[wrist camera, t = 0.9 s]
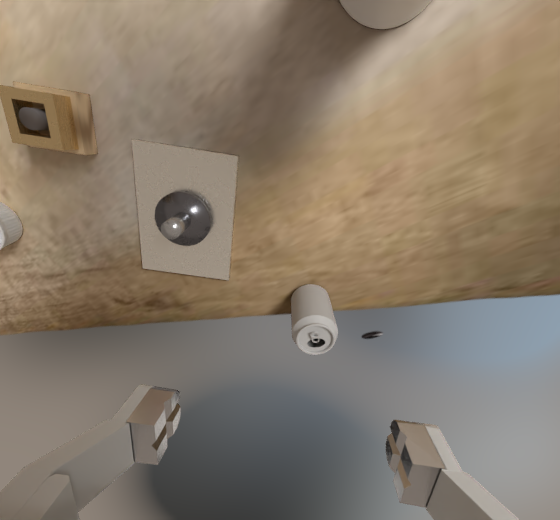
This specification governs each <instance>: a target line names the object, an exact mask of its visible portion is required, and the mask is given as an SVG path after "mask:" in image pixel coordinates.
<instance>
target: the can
mask: <svg viewBox="0 0 560 520" xmlns="http://www.w3.org/2000/svg"><path fill="white" fill-rule="evenodd" d="M291 317H292V338H293V340H294V342H295V343H296V344H297V346H298V347H299V348H300V350H301V351H303V352H305V353H307V354H312V355H319V354H323V353H325V352H327V351H329V350H330V349H331V348H332V347H333V345H334V343H335V340H336V338H337V335H338V329H337V325H336V322H335V318H334V314H333V310H332V306H331V302H330V299H329V295H328V293H327V292H326V290H325V289H324V288H322V287H320V286H318V285H314V284H308V285H304V286H301V287H299V288H298V289H296V290H295V292H294V293H293V295H292V297H291Z"/></svg>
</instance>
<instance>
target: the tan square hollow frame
mask: <svg viewBox="0 0 560 520" xmlns="http://www.w3.org/2000/svg"><path fill="white" fill-rule="evenodd" d="M0 97H1V101H2V104H3V108H4V112H5V116H6V120H7V123H8V127H9V131H10V135H11V138H12V142H13V143H19V144H25V145H32V146H38V147H45V148H51V149H57V150H76V149H79V147H78V141H77V135H76V129H75V123H74V117H73V111H72V105H71V99H70V97H68V96H63V95H57V94H51V93H45V92H39V91H33V90H27V89H21V88H15V87H9V86H3V85H0ZM32 102H36V103H42V104H44V107H45V112H46V116H47V121H48V126H49V131H50V135H45V134H39V130H30V129H28V128H26V127H25V126H24V125H23V124H22V122H21V121H20V118H19V111H20V109H21V108H23V107H29V108H33V104H32Z"/></svg>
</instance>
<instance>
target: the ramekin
mask: <svg viewBox="0 0 560 520" xmlns="http://www.w3.org/2000/svg"><path fill="white" fill-rule="evenodd" d="M22 232H23V227H22V223H21V221H20V219H19V217H18V216H17V214H16V213H15V212H14V211H13V210H12V209H11V208H10V207H8V206H7V205H5V204H4V203H2V202H0V250H1V249H2V248H4V247H5V246H7V245H9V244H11V243H13V242H15V241H17V240H18V239H19V238H20V237H21V235H22Z"/></svg>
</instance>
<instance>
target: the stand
mask: <svg viewBox="0 0 560 520" xmlns="http://www.w3.org/2000/svg"><path fill="white" fill-rule="evenodd" d="M13 85H14V87H15V88H21V89H27V90H33V91H39V92H45V93H51V94H57V95H63V96H68V97H70V99H71V105H72V111H73V117H74V123H75V129H76V135H77V141H78V147H79V149H76V150H57V149H51V148H45V147H38V146H32V145H28V146H29V147H35V148H42V149H48V150H55V151H61V152H67V153H74V154H80V155H91V154H98V151H97V144H96V137H95V130H94V123H93V116H92V109H91V101H90V95H89V94H84V93H79V92H74V91H68V90H62V89H56V88H50V87H44V86H38V85H32V84H26V83H20V82H14V81H13ZM32 104H33V108H29V107H23V108H21V109H20V111H19V118H20V121H21V122H22V124H23V125H24V126H25V127H26V128H28V129H30V130H39V134H45V135H50V131H49V126H48V121H47V116H46V112H45V107H44V104H42V103H36V102H32Z"/></svg>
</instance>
